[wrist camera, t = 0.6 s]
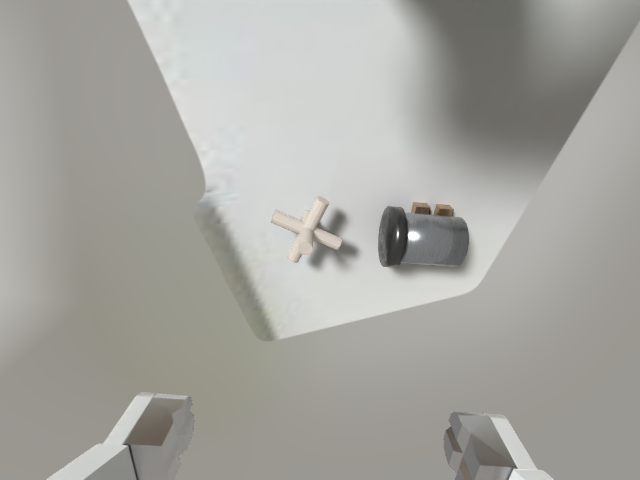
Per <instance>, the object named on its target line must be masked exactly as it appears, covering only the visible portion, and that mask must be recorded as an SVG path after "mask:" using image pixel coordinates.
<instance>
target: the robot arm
mask: <svg viewBox="0 0 640 480" xmlns="http://www.w3.org/2000/svg"><path fill="white" fill-rule="evenodd" d="M191 406H192V400H191V397H189V396H180V395H170V394H158V393H144V392H141V393H139V394H138V395H137V396H136V397H135V398H134V399H133V401H132V403H131V404H130V405H129V407H128V408H127V410H126V411H125V413H124V414H123V416H122V417H121V418H120V420H119V421H118V423H117V424H116V426H115V427H114V429H113V430H112V432H111V433H110V435H109V436H108V437H107V439H106V440H105V442H104V443H103V444H97V445H95V446H94V447H92V448H91V449H89V450H88V451H86V452H85V453H84V454H82V455H81V456H79V457H78V458H76V459H75V460H74V461H72V462H71V463H69V464H68V465H66V466H65V467H63V468H62V469H61V470H59V471H58V472H56V473H55V474H53V475H52V476H50V477H49V478H48V479H46V480H174V479H175V477H176V474H177V472H178V469H179V467H180V457H179V456H180V455H181V454H182V453H183V452H184V451H185V450H187V448H188V446H189V443H190V440H191V437H192V433H193V430H194V415H193V414H192V413H191V412H190V408H191ZM449 422H450V424H451V427H449V428H448V429H447V430H446V431H445V435H444V450H445V455H446V458H447V461H448V464H449V466H450V467H451V468H452V469H453V470H454V471H455V472H456V473H457V474H456V478H455V480H554V479H553V478H551V477H550V476H549V475H548V474H547V473H545V472H544V471H543V470H537V468H536V466H535V465H534V463H533V461H532V460H531V458H530V456H529V455H528V453H527V451H526V450H525V448H524V446H523V445H522V443H521V441H520V440H519V438H518V437H517V435H516V433H515V432H514V430H513V428H512V427H511V425H510V423H509V422H508V420H507V418H506V417H505V416H503V415H499V414H484V413H469V412H453V413H452V414H451V415H450V418H449Z"/></svg>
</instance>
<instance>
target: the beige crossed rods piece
mask: <svg viewBox="0 0 640 480" xmlns="http://www.w3.org/2000/svg"><path fill="white" fill-rule="evenodd" d="M328 205H329V202H328V201H327V200H326V199H324V198H322V197H317V198H316V200H315V202H314V204H313V206H312V208H311V210H306V211H304V212H303V214H302V220H301V221H300V220H298V219H296V218H293V217H291V216H289V215H286V214H284V213H282V212H279V211H277V210H275V212H274V215H273V217H272V219H271V223H273V224H276V225H278V226H280V227H283V228H285V229H288V230H290V231H292V232H295V233H297V234H298V236H297V238H296V240H295V242H294V244H293V246H292V248H291V250H290V252H289V254H288V256H287V258H288V259H289V260H290V261H291V262H294V263H297V262H298V261H299V259H300V258H301V256H302V254H303V255H308V254H310V253H311V252H312V251H313V240H314V241H316V242H319V243H321V244H323V245H326V246H328V247H331V248H333V249H335V250H338V249H339V247H340V245H341V243H342V238H340V237H338V236H335V235H333V234H331V233H328V232H326V231H324V230H321V229H319V228H317V225H318V224H319V222H320V220H321V218H322V216H323V214H324V212H325V210H326V208H327V207H328Z"/></svg>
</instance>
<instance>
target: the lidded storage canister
mask: <svg viewBox="0 0 640 480" xmlns="http://www.w3.org/2000/svg"><path fill="white" fill-rule="evenodd" d="M429 210H430V207H429V206H428V204H427V203H415V202H414V203H413V207H412V211H411V213H405V212H404V210H403V208H401V207H391V206H388V207H387V208H386V209H385V210H384V213H383V215H382V219H381V223H380V229H379V239H378V251H379V259H380V263H381V265H382V266H383V267H398V266H399V265H400V263H410V264H424V265H438V266H451V267H456V266H459V265H460V264H461V263H462V262H463V260H464V258H465V256H466V253H467V250H468V244H469V233H468V228H467V225H466V223H465V221H464V220H463V219H462V218H461V217H451V216H452V213H453V210H454V209H453V208H452V207H451V206H450V205H439V204H436V208H435V211H434V215H428V213H429Z"/></svg>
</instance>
